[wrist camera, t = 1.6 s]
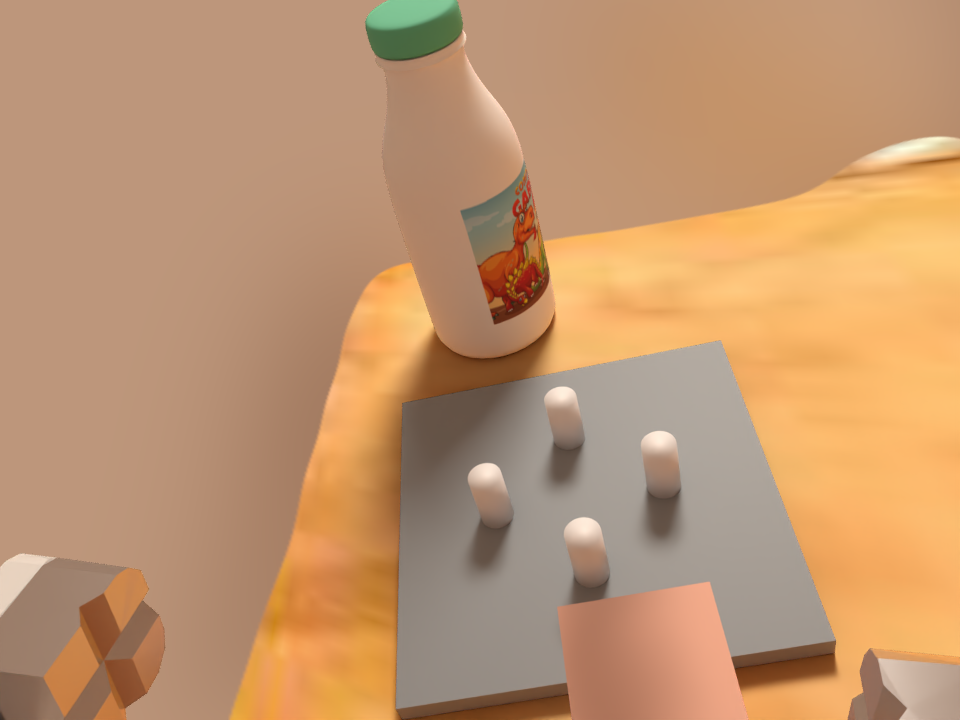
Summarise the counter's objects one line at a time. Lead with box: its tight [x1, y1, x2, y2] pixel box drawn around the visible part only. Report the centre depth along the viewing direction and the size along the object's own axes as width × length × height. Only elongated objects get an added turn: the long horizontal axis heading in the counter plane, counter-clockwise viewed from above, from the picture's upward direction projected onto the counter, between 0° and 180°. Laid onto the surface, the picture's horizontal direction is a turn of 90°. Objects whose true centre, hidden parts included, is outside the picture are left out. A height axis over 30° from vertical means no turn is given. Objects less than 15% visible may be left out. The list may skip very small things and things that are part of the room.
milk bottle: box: [365, 0, 555, 359], centre depth 48 cm, size 8×8×20 cm
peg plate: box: [396, 340, 836, 720], centre depth 42 cm, size 18×18×4 cm
